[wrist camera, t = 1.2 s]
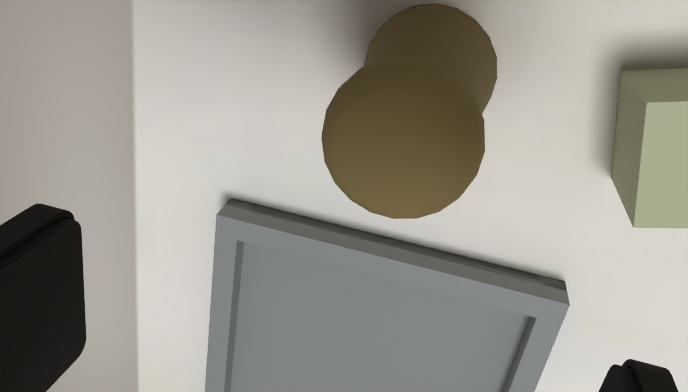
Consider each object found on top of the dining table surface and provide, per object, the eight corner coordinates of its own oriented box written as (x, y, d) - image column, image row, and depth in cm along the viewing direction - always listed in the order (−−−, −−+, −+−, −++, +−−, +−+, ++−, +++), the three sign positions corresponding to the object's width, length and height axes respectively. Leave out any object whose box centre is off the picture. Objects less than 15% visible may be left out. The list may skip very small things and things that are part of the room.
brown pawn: (346, 105, 29) (272, 200, 19) (393, -19, 26) (334, 21, 16) (462, 154, 29) (446, 277, 19) (522, 35, 26) (539, 108, 16)
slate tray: (231, 198, 33) (216, 214, 31) (565, 282, 30) (569, 304, 28) (212, 449, 42) (199, 473, 40) (467, 529, 39) (466, 558, 38)
